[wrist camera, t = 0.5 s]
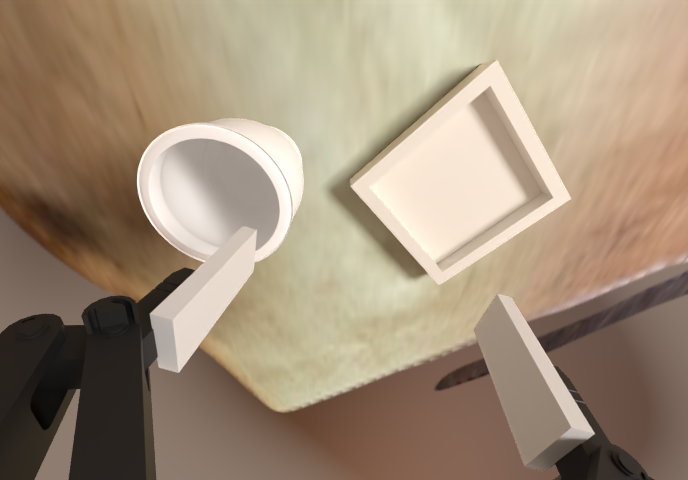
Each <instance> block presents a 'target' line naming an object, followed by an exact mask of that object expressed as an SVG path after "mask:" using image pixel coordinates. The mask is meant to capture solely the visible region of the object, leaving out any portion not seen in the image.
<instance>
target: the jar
mask: <svg viewBox="0 0 688 480" xmlns="http://www.w3.org/2000/svg"><path fill="white" fill-rule="evenodd" d="M303 186H304V178H303V171H302V158H301V154H300V152H299V149H298V148H297V146H296V144H295V143H294V141H293V140H292V139H291V138H290V137H289V136H288V135H287V134H285V133H284V132H283V131H281V130H279V129H277V128H275V127H272V126H267V125H264V124H262V123H259V122H256V121H253V120H248V119H241V118H225V119H218V120H214V121H210V122H207V123H191V124H185V125H181V126H178V127H175V128H173V129H170V130H168V131H166V132H164V133H163V134H161V135H160V136H158V137H157V138H156V139H155V140H154V141H153V142H152V143H151V144H150V145H149V146H148V147H147V149H146V150H145V152H144V154H143V156H142V158H141V161H140V164H139V167H138V173H137V188H138V194H139V198H140V202H141V204H142V207H143V209H144V212H145V214H146V215H147V217H148V219H149V221H150V222H151V224H152V225H153V226H154V228H155V229H156V230H157V231H158V233H159V234H160V235H161V236H162V237H163V238H164V239H165V240H166V241H168V242H169V243H170V244H171V245H172V246H174V247H175V248H176V249H178V250H179V251H181V252H183V253H184V254H186V255H188V256H190V257H192V258H194V259H197V260H199V261H202V262H205V261H206V260H207V259H209V258H210V257H211V256H212V255H213V254H214V253H215V252H216V251H217V250H218V249H219V248H220V247H221V246H222V245H223V244H224V243H226V242H227V241H228V240H229V239H230V238H231V237H232V236H233V235H234V234H235V233H236V232H237V231H238V230H239V229H240V228H242V227H243V226H245V227H249V228H252V229H256V230H257V236H256V249H255V261H254V263H255V262H258V261H260V260H262V259H264V258H266V257H268V256H269V255H271V254H272V253H273V252H274V251H275V250H277V249H278V248H279V246H280V245H281V244H282V243H283V241H284V240H285V238H286V236H287V234H288V232H289V230H290V227H291V223H292V219H293V217H294V215H295V213H296V211H297V209H298V207H299V205H300V202H301V198H302V194H303Z"/></svg>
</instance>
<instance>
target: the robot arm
mask: <svg viewBox="0 0 688 480" xmlns="http://www.w3.org/2000/svg"><path fill="white" fill-rule="evenodd" d="M256 236H257V230H256V229H252V228H249V227H245V226H243V227H242V228H240V229H239V230H238V231H237V232H236V233H235V234H234V235H233V236H232V237H231V238H230V239H229V240H228V241H227V242H226V243H224V244H223V245H222V246H221V247H220V248H219V249H218V250H217V251H216V252H215V253H214V254H213V255H212V256H211V257H210V258H209V259H207V260H206V261H205V262H204V263H203V264H202V265H201V266H200V267H199V268H198V269H197V270H192V269H188V268H183V269H181V270H178V271H176V272H174V273H172V274H171V275H170V276H168V277H167V278H166V279H165V280H164V281H163V283H162V282H161V283H160V284H159V285H158V286H157V287H156V288H155V289H153V290H152V291H151V292H150V293H148V294H147V295H146V296H145V297H144V298H142V299H141V300H140V301H139V302H138V303H137V304H136V302H135V300H133V299H132V298H130V297H126V296H110V297H107V298H103V299H100V300H98V301H96V302H94V303H92V304H90V305H89V306H88V307H87V308H86V309H85V310H84V312H83V314H82V319H83V322H84V325H68V326H67V325H64V324H63V321H62V320H61V318H60V317H59V316H57V315H54V314H39V315H33V316H30V317H27V318H24V319H21V320H19V321H17V322H15V323H13V324H12V325H9V326H8V327H7V328H6V329H5V330H4V331H3V332H2V333H1V334H0V480H34V479H35V477H36V475H37V473H38V470H39V468H40V466H41V464H42V462H43V460H44V458H45V456H46V453H47V451H48V449H49V447H50V445H51V443H52V441H53V438H54V436H55V434H56V432H57V430H58V427H59V426H60V423H61V421H62V419H63V417H64V415H65V413H66V410H67V408H68V406H69V404H70V402H71V400H72V398H73V395H74V393H75V391H76V389H81V390H80V397H79V405H78V412H77V420H76V428H75V435H74V443H73V451H72V458H71V466H70V473H69V480H156V468H155V451H154V436H153V420H152V403H151V386H150V371H149V366H150V365H151V364H152V363H153V362H154V360H155V359H156V358H157V361H158V367H159V368H163V369H167V370H170V371H174V372H178V373H179V372H180V370H181V369H182V368H183V366H184V365H185V363H186V362H187V361H188V359H189V358H190V357H191V355H192V354H193V353H194V351H195V350H196V349H197V347H198V346H199V344H200V343H201V342H202V340H203V339H204V338H205V336H206V335H207V334H208V332H209V331H210V330H211V328H212V327H213V325H214V324H215V323H216V321H217V320H218V319H219V317H220V316H221V315H222V313H223V312H224V311H225V309H226V308H227V306H228V305H229V304H230V302H231V301H232V300H233V298H234V297H235V296H236V294H237V293H238V292H239V290H240V289H241V287H242V286H243V285H244V283H245V282H246V281H247V279H248V278H249V277H250V275H251V274H252V273H253V271H254V261H255V249H256ZM474 332H475V335H476V338H477V340H478V343H479V346H480V348H481V351H482V354H483V356H484V359H485V362H486V364H487V367H488V370H489V372H490V375H491V378H492V380H493V383H494V386H495V388H496V391H497V394H498V396H499V399H500V402H501V404H502V407H503V410H504V413H505V415H506V418H507V421H508V423H509V426H510V429H511V431H512V434H513V437H514V439H515V442H516V445H517V447H518V450H519V453H520V456H521V458H522V461H523V464H524V466H525V467H529V468H532V469H536V470H540V471H544V472H545V471H547V470H548V469H549V468H550V467H552V466H553V465H554V464H555V465H556V467H557V469H558V471H559V473H560V475H559V476H558V477H556V478H555V479H554V480H654V479H652V478H650V477H648V475H647V473H646V472H645V470H644V469H643V468H642V467H641V465H640V464H639V463H638V462H637V461H636V460H635V459H634V458H633V457H632V456H631V455H630V454H628V453H627V452H626V451H624V450H623V449H621V448H620V447H618V446H616V445H613V444H611V443H610V441H609V440H608V438H607V437H606V435H605V434H604V432H603V430H602V429H601V428H600V426H599V424H598V423H597V421H596V420H595V418H594V417H593V415H592V413H591V412H590V410H589V409H588V407H587V406H586V404H584V401H583V399H582V398H581V396H580V395H579V394H578V393H577V390H576V389H575V387H574V385H573V384H572V382H571V381H570V379H569V378H568V377H567V376H566V375H565V374H564V373H563V372H562V371H561V370H560V369H559V368H558V367H556V366H553V365H552V363H551V362H550V360H549V358H548V357H547V355H546V353H545V352H544V350H543V348H542V347H541V345H540V343H539V342H538V340H537V339H536V337H535V335H534V334H533V332H532V331H531V329H530V327H529V326H528V324H527V322H526V321H525V319H524V317H523V316H522V314H521V313H520V311H519V309H518V308H517V306H516V304H515V303H514V301H513V300H512V298H511V297H507V296H504V295H500V294H497V295H496V296H495V298H494V299H493V301H492V302H491V304H490V305H489V307H488V308H487V310H486V311H485V313H484V315H483V316H482V318H481V319H480V321H479V322H478V324H477V325H476V327H475V328H474Z"/></svg>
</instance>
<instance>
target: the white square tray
mask: <svg viewBox="0 0 688 480" xmlns="http://www.w3.org/2000/svg"><path fill="white" fill-rule="evenodd" d="M350 186H351V188H352V189H353V190H354V191H355V192H356V193H357V194H358V195H359V197H360V198H361V199H362V200H363V201H364V202H365V203H366V204H367V206H368V207H369V208H370V209H371V210H372V211H373V212H374V213H375V214H376V216H377V217H378V218H379V219H380V220H381V221H382V222H383V223H384V225H385V226H386V227H387V228H388V229H389V230H390V231H391V232H392V233H393V235H394V236H395V237H396V238H397V239H398V240H399V241H400V242H401V244H402V245H403V246H404V247H405V248H406V249H407V250H408V251H409V253H410V254H411V255H412V256H413V257H414V258H415V259H416V260H417V261H418V263H419V264H420V265H421V266H422V267H423V268H424V269H425V270H426V272H427V273H428V274H429V275H430V276H431V277H432V278H433V279H434V281H435V282H436V283H437V284H438V285H440V284H442V283H443V282H445V281H446V280H448V279H449V278H451V277H452V276H454V275H456V274H457V273H459V272H460V271H462V270H463V269H465V268H466V267H468V266H469V265H471V264H472V263H474V262H475V261H477V260H478V259H480V258H481V257H483V256H485V255H486V254H488V253H489V252H491V251H492V250H494V249H495V248H497V247H498V246H500V245H501V244H503V243H504V242H506V241H507V240H509V239H510V238H512V237H514V236H515V235H517V234H518V233H520V232H521V231H523V230H524V229H526V228H527V227H529V226H530V225H532V224H533V223H535V222H536V221H538V220H539V219H541V218H543V217H544V216H546V215H547V214H549V213H550V212H552V211H553V210H555V209H556V208H558V207H559V206H561V205H562V204H564V203H565V202H567V201H568V200H570V199H571V197H570V196H569V194H568V192H567V190H566V188H565V186H564V184H563V182H562V181H561V179H560V177H559V175H558V173H557V171H556V169H555V167H554V166H553V164H552V162H551V160H550V158H549V156H548V154H547V152H546V151H545V149H544V147H543V145H542V143H541V141H540V139H539V137H538V135H537V134H536V132H535V130H534V128H533V126H532V124H531V122H530V120H529V119H528V117H527V115H526V113H525V111H524V109H523V107H522V105H521V104H520V102H519V100H518V98H517V96H516V94H515V92H514V90H513V89H512V87H511V85H510V83H509V81H508V79H507V77H506V75H505V73H504V72H503V70H502V68H501V66H500V64H499V62H498V60H493V61H490V62H486V63H483V64H481V65H479V66H478V67H477V68H476V69H475V70H474V71H473V72H471V73H470V74H469V75H468V76H467V77H466V78H465V79H463V80H462V81H461V82H460V83H459V84H458V85H457V86H455V87H454V88H453V89H452V90H451V91H450V92H449V93H447V94H446V95H445V96H444V97H443V98H442V99H441V100H440V101H438V102H437V103H436V104H435V105H434V106H433V107H432V108H430V109H429V110H428V111H427V112H426V113H425V114H424V115H422V116H421V117H420V118H419V119H418V120H417V121H416V122H414V123H413V124H412V125H411V126H410V127H409V128H408V129H406V130H405V131H404V132H403V133H402V134H401V135H400V136H399V137H397V138H396V139H395V140H394V141H393V142H392V143H391V144H389V145H388V146H387V147H386V148H385V149H384V150H383V151H381V152H380V153H379V154H378V155H377V156H376V157H375V158H373V159H372V160H371V161H370V162H369V163H368V164H367V165H365V166H364V167H363V168H362V169H361V170H360V171H359V172H357V173H356V174H355V175H354V176H353V177H352V178H351V179H350Z"/></svg>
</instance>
